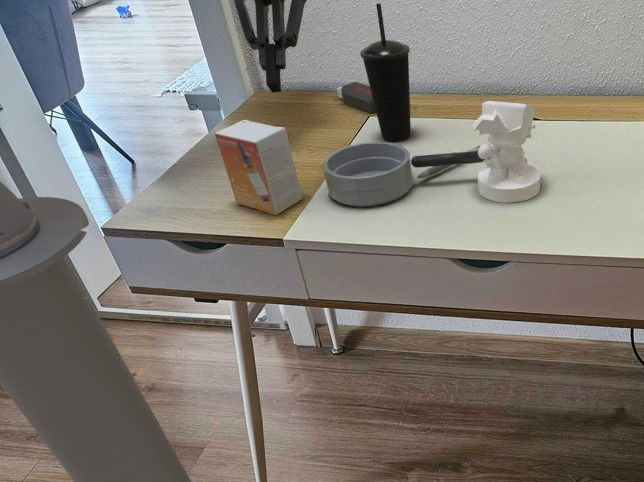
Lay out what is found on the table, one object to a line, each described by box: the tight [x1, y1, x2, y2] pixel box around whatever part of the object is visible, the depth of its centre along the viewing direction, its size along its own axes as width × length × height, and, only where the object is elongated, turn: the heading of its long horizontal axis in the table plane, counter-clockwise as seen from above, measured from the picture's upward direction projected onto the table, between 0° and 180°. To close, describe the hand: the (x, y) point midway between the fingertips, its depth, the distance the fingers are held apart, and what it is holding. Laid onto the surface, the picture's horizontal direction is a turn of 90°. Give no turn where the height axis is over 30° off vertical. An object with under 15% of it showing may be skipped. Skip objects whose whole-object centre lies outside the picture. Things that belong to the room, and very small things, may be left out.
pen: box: [416, 144, 482, 180], centre depth 94 cm, size 1×14×1 cm, turn 135°
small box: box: [214, 119, 303, 216], centre depth 86 cm, size 8×6×10 cm
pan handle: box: [410, 151, 485, 169], centre depth 89 cm, size 11×2×2 cm, turn 93°
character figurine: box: [472, 100, 541, 204], centre depth 85 cm, size 9×10×12 cm
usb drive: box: [336, 81, 376, 114], centre depth 118 cm, size 5×12×3 cm, turn 43°
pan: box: [322, 141, 414, 208], centre depth 89 cm, size 12×12×4 cm
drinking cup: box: [359, 2, 412, 143], centre depth 99 cm, size 8×8×20 cm
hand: (273, 87), depth 98 cm, fingers closed
